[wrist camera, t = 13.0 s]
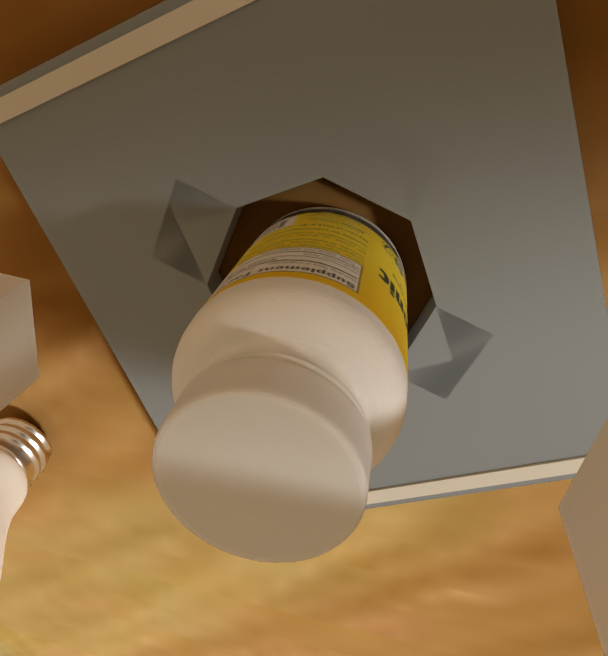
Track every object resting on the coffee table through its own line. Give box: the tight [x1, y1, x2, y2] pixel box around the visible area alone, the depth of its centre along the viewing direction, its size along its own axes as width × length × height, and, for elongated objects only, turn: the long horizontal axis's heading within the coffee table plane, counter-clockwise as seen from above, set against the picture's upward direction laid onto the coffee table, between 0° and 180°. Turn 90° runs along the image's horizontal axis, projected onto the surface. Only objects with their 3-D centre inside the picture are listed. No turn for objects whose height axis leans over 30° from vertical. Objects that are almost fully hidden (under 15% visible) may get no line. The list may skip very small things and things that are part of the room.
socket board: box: [0, 0, 608, 509], centre depth 18 cm, size 16×18×1 cm
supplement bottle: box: [152, 207, 408, 563], centre depth 14 cm, size 5×5×10 cm
